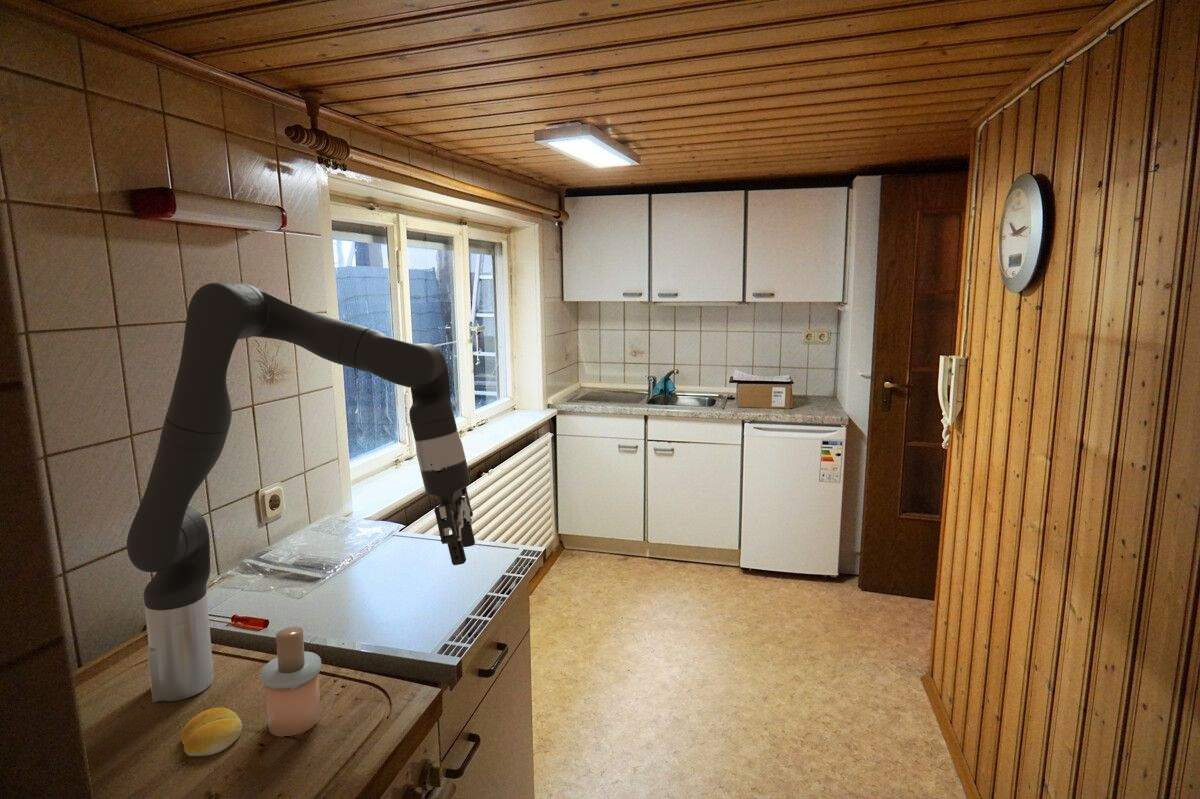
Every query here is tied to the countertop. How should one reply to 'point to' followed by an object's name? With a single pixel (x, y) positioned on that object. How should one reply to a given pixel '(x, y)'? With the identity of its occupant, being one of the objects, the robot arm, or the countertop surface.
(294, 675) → the lid
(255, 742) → the countertop surface
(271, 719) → the canister
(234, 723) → the bread roll
